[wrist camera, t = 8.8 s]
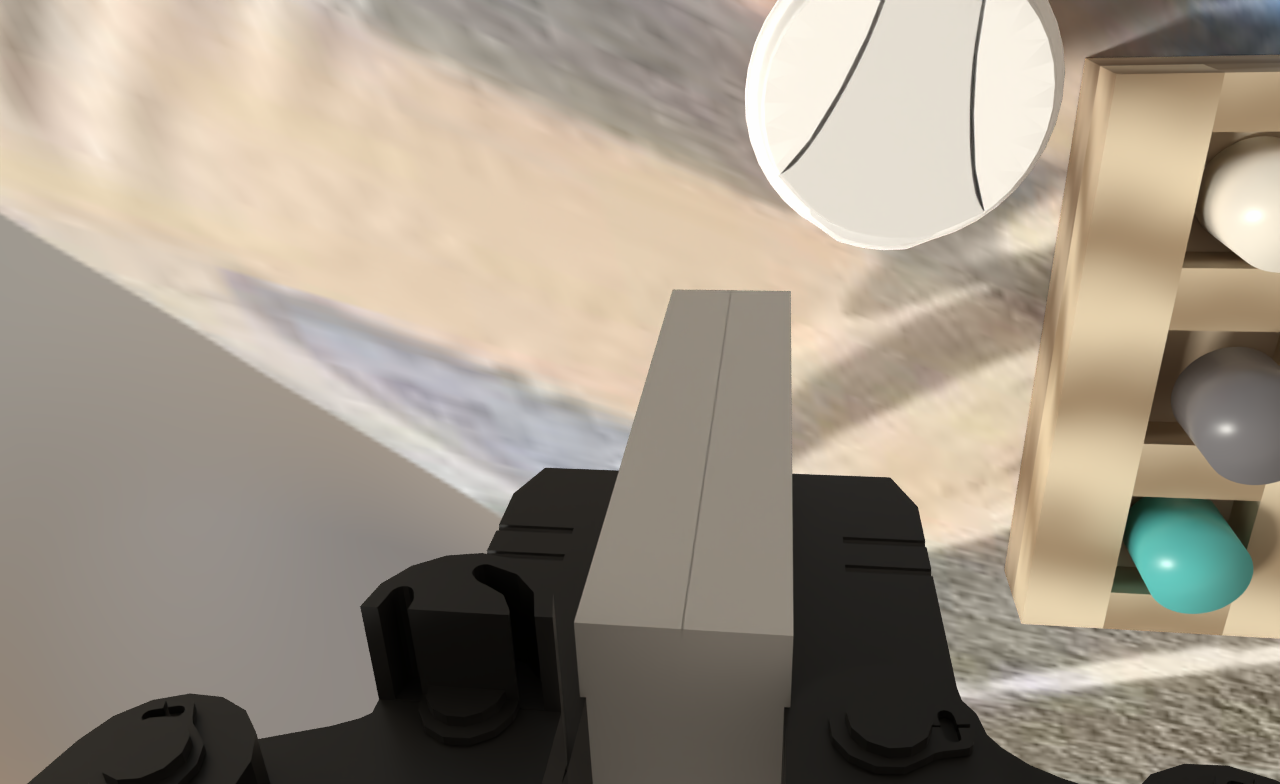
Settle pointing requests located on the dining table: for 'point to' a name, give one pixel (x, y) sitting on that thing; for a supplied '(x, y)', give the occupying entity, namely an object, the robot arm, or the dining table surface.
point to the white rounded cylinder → (1244, 200)
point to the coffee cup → (902, 110)
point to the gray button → (1233, 412)
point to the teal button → (1187, 554)
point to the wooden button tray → (1142, 346)
